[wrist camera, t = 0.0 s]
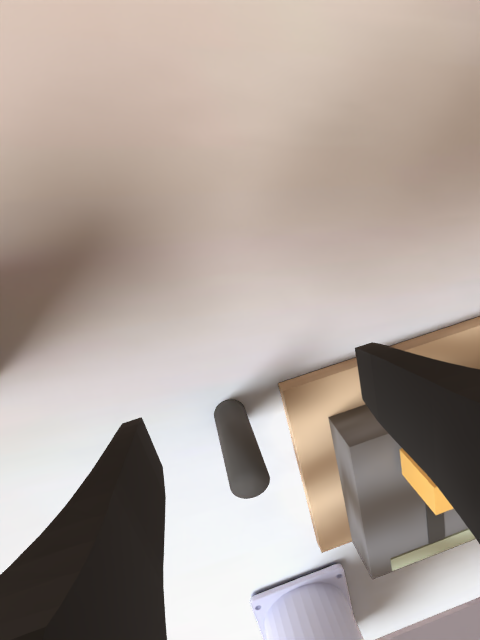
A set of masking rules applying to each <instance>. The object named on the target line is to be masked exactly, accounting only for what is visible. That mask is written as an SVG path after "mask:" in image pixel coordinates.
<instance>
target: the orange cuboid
mask: <svg viewBox="0 0 480 640" xmlns="http://www.w3.org/2000/svg"><path fill="white" fill-rule="evenodd" d="M400 458H401V468H402V475H403V476H404V477H405V479H406V480H407V481H408V482H409V483H410V485H411V486H412V487H413V488H414V489H415V491H416V492H417V493H418V494H419V495H420V497H421V498H422V499H423V500H424V501H425V503H426V504H427V505H428V506H429V508H430V509H431V510H432V511H433V512H434V514H435V515H438V514H441V513H443V512H446V511H449V510H451V509H454V508H453V507H452V505H451V504H450V503H449V502H448V500H447V499H446V498H445V496H444V495H443V494H442V492H441V491H440V490H439V488H438V487H437V486H436V485H435V484H434V482H433V481H432V480H431V479H430V478H429V477H428V475H427V474H426V473H425V472H424V471H423V470H422V469H421V468H420V467H419V466H418V465H417V463H416V462H415V461H414V460H413V459H412V458H411V457H410V456H409V455H408V454H407V453H406V452H405V451H404V450H403V448H401V449H400Z"/></svg>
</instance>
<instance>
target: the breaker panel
mask: <svg viewBox="0 0 480 640" xmlns="http://www.w3.org/2000/svg"><path fill="white" fill-rule="evenodd" d="M389 347H393V348H396V349H400V350H403V351H407V352H410V353H414V354H417V355H421V356H424V357H428V358H432V359H436V360H440V361H444V362H448V363H452V364H457V365H461V366H466V367H470V368H476V369H480V317H477V318H474V319H471V320H468V321H465V322H462V323H459V324H456V325H453V326H450V327H446V328H443V329H440V330H437V331H434V332H431V333H428V334H425V335H422V336H419V337H416V338H413V339H410V340H407V341H404V342H401V343H398V344H395V345H392V346H389ZM278 385H279V389H280V393H281V397H282V402H283V406H284V410H285V414H286V418H287V422H288V426H289V430H290V434H291V438H292V442H293V446H294V450H295V454H296V458H297V462H298V466H299V470H300V475H301V479H302V483H303V487H304V491H305V495H306V499H307V503H308V507H309V511H310V515H311V519H312V523H313V527H314V531H315V535H316V539H317V543H318V545H319V547H320V549H321V552H322V553H323V552H325V551H328V550H331V549H333V548H336V547H339V546H341V545H344V544H346V543H349V542H353V544H354V546H355V548H356V549H357V551H358V553H359V555H360V557H361V559H362V561H363V563H364V564H365V566H366V568H367V570H368V572H369V574H370V576H371V578H372V579H375V578H377V577H380V576H382V575H385V574H387V573H390V572H392V571H395V570H398V569H400V568H403V567H405V566H408V565H410V564H413V563H415V562H418V561H420V560H423V559H426V558H428V557H431V556H433V555H436V554H438V553H441V552H443V551H446V550H449V549H451V548H454V547H456V546H459V545H461V544H464V543H466V542H469V541H472V540H474V539H476V538H475V537H474V535H473V534H472V533H471V531H470V530H469V528H468V527H467V526H466V524H465V523H464V522H463V520H462V519H461V517H460V516H459V515H458V513H457V512H456V511H455V509H451V510H449V511H446V512H443V513H441V514H438V515H435V514H434V512H433V511H432V510H431V509H430V508H429V506H428V505H427V504H426V503H425V501H424V500H423V499H422V498H421V497H420V495H419V494H418V493H417V492H416V491H415V489H414V488H413V487H412V486H411V485H410V483H409V482H408V481H407V480H406V479H405V477H404V476H403V475H402V468H401V458H400V449H401V448H402V447H401V446H400V445H399V444H398V443H397V442H396V441H395V440H394V439H393V438H392V437H391V436H390V434H389V433H388V432H387V431H386V430H385V429H384V428H383V427H382V426H381V425H380V423H379V422H378V421H377V420H376V418H375V417H374V415H373V414H372V413H371V411H370V410H369V408H368V407H367V405H366V404H365V402H364V401H363V399H362V394H361V387H360V380H359V373H358V366H357V359H356V358H353V359H350V360H347V361H344V362H341V363H338V364H335V365H332V366H329V367H326V368H323V369H320V370H317V371H314V372H311V373H308V374H305V375H302V376H299V377H296V378H293V379H290V380H287V381H284V382H281V383H278Z"/></svg>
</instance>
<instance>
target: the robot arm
mask: <svg viewBox="0 0 480 640" xmlns="http://www.w3.org/2000/svg"><path fill="white" fill-rule="evenodd" d="M355 352H356V359H357V366H358V373H359V380H360V387H361V394H362V399H363V401H364V402H365V404H366V405H367V407H368V408H369V410H370V411H371V413H372V414H373V415H374V417H375V418H376V420H377V421H378V422H379V423H380V425H381V426H382V427H383V428H384V429H385V430H386V431H387V432H388V433H389V434H390V436H391V437H392V438H393V439H394V440H395V441H396V442H397V443H398V444H399V445H400V446H401V447H402V448H403V450H404V451H405V452H406V453H407V454H408V455H409V456H410V457H411V458H412V459H413V460H414V461H415V462H416V463H417V465H418V466H419V467H420V468H421V469H422V470H423V471H424V472H425V473H426V474H427V475H428V477H429V478H430V479H431V480H432V481H433V482H434V484H435V485H436V486H437V487H438V488H439V490H440V491H441V492H442V494H443V495H444V496H445V498H446V499H447V500H448V502H449V503H450V504H451V505H452V507H453V508H454V509H455V511H456V512H457V513H458V515H459V516H460V517H461V519H462V520H463V522H464V523H465V524H466V526H467V527H468V528H469V530H470V531H471V533H472V534H473V535H474V537H475V538H476V539H477V541H478V542H479V544H480V369H476V368H470V367H466V366H461V365H457V364H452V363H448V362H444V361H440V360H436V359H432V358H428V357H424V356H421V355H417V354H414V353H410V352H407V351H403V350H400V349H396V348H393V347H389V346H386V345H382V344H377V343H369V344H366V345H363V346H360V347H357V348H355ZM164 531H165V486H164V476H163V467H162V464H161V462H160V460H159V457H158V455H157V453H156V450H155V448H154V445H153V443H152V441H151V438H150V436H149V434H148V431H147V429H146V427H145V424H144V422H143V420H142V417H141V418H138V419H135V420H132V421H129V422H126V423H123V424H122V425H121V426H120V428H119V429H118V431H117V432H116V434H115V435H114V437H113V439H112V440H111V442H110V443H109V445H108V446H107V448H106V450H105V451H104V453H103V454H102V456H101V457H100V459H99V460H98V462H97V463H96V465H95V466H94V468H93V469H92V471H91V472H90V474H89V475H88V476H87V478H86V479H85V480H84V482H83V483H82V484H81V486H80V487H79V489H78V490H77V491H76V493H75V494H74V495H73V497H72V498H71V499H70V501H69V502H68V503H67V504H66V506H65V507H64V508H63V509H62V511H61V512H60V513H59V514H58V515H57V517H56V518H55V519H54V520H53V521H52V522H51V523H50V525H49V526H48V527H47V528H46V529H45V530H44V531H43V532H42V534H41V535H40V536H39V537H38V538H37V539H36V540H35V541H34V542H33V543H32V544H31V545H30V546H29V547H28V548H27V549H26V550H25V551H24V552H23V553H22V554H21V555H20V556H19V557H18V558H17V559H16V560H15V561H14V562H13V563H12V564H11V565H10V566H9V567H8V568H7V569H6V570H5V571H4V572H3V573H2V574H1V575H0V640H167V636H166V623H165V607H164V591H163V560H164ZM250 605H251V608H252V610H253V613H254V616H255V618H256V621H257V624H258V626H259V629H260V631H261V634H262V637H263V639H264V640H364V639H363V637H362V634H361V632H360V630H359V628H358V625H357V623H356V621H355V618H354V615H353V610H352V605H351V601H350V596H349V591H348V587H347V582H346V577H345V573H344V569H343V567H342V565H341V564H335V565H332V566H329V567H327V568H324V569H322V570H319V571H316V572H314V573H311V574H309V575H306V576H303V577H301V578H298V579H296V580H293V581H290V582H288V583H285V584H283V585H280V586H277V587H275V588H272V589H270V590H267V591H264V592H262V593H259V594H257V595H254V596H252V597H251V598H250ZM375 640H480V597H479V598H476V599H474V600H471V601H469V602H466V603H464V604H462V605H459V606H457V607H454V608H452V609H449V610H447V611H444V612H442V613H439V614H437V615H434V616H432V617H429V618H427V619H425V620H422V621H420V622H417V623H415V624H412V625H410V626H407V627H405V628H402V629H400V630H397V631H395V632H392V633H390V634H388V635H385V636H383V637H380V638H378V639H375Z"/></svg>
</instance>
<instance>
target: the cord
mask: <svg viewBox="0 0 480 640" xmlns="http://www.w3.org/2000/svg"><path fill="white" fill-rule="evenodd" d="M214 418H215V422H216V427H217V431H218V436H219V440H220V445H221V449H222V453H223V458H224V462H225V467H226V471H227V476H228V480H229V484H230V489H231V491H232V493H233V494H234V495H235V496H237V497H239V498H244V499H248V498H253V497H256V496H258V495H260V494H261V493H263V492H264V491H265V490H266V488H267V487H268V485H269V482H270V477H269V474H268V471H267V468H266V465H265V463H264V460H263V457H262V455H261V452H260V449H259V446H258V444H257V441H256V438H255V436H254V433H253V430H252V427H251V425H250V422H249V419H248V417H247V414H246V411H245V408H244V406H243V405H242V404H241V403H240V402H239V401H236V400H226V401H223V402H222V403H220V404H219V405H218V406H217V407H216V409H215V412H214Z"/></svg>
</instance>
